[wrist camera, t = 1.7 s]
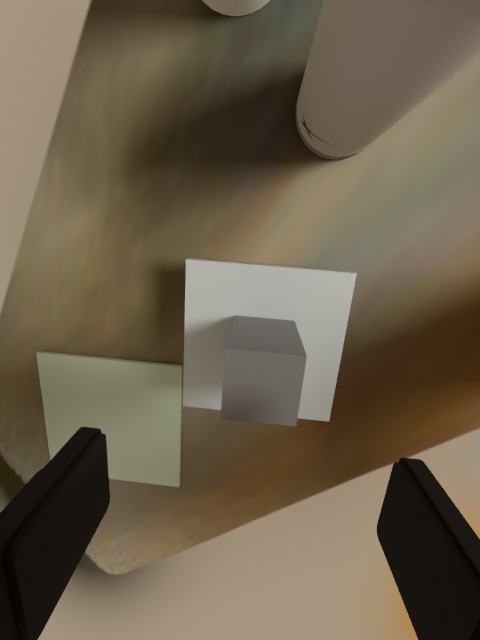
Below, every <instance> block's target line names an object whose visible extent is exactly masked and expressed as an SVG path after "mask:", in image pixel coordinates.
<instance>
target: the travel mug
mask: <svg viewBox="0 0 480 640" xmlns="http://www.w3.org/2000/svg"><path fill="white" fill-rule="evenodd" d="M479 56H480V0H324V1H323V5H322V9H321V13H320V16H319V20H318V24H317V28H316V32H315V35H314V39H313V43H312V47H311V50H310V54H309V58H308V62H307V65H306V69H305V73H304V77H303V81H302V84H301V88H300V92H299V96H298V99H297V104H296V112H295V114H296V125H297V129H298V132H299V135H300V137H301V139H302V141H303V142H304V144H305V145H306V146H307V147H308V148H309V149H310V150H311V151H312V152H313V153H315V154H317V155H318V156H320V157H323V158H326V159H334V160H338V159H345V158H348V157H351V156H353V155H355V154H357V153H359V152H360V151H362V150H363V149H364V148H366V147H367V146H368V145H369V144H371V143H372V142H373V141H374V140H375V139H377V138H378V137H379V136H380V135H382V134H383V133H384V132H385V131H387V130H388V129H389V128H390V127H392V126H393V125H394V124H395V123H397V122H398V121H399V120H400V119H402V118H403V117H404V116H405V115H407V114H408V113H409V112H410V111H412V110H413V109H414V108H415V107H417V106H418V105H419V104H420V103H422V102H423V101H424V100H425V99H427V98H428V97H429V96H430V95H431V94H433V93H434V92H435V91H436V90H438V89H439V88H440V87H441V86H443V85H444V84H445V83H446V82H448V81H449V80H450V79H451V78H453V77H454V76H455V75H456V74H458V73H459V72H460V71H461V70H463V69H464V68H465V67H466V66H468V65H469V64H470V63H471V62H473V61H474V60H475V59H476V58H478V57H479Z"/></svg>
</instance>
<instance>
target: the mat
mask: <svg viewBox="0 0 480 640" xmlns="http://www.w3.org/2000/svg"><path fill="white" fill-rule="evenodd" d="M36 355H37V363H38V370H39V378H40V386H41V393H42V401H43V409H44V416H45V424H46V432H47V439H48V447H49V454H50V460H51V459H52V458H53V457H54V456H55V455H56V454H57V453H58V452H59V450H60V449H61V448H62V447H63V446H64V445H65V444H66V443H67V441H68V440H69V439H70V438H71V437H72V436H73V435H74V434H75V432H76V431H77V430H78V429H79V428H80V427H90V428H99V429H101V432H102V433H103V434H105V435H106V443H107V459H108V475H109V479H115V480H123V481H131V482H140V483H148V484H156V485H165V486H173V487H179V486H180V470H181V423H182V376H183V365H175V364H165V363H155V362H145V361H135V360H125V359H115V358H105V357H95V356H85V355H75V354H65V353H55V352H45V351H38V352H36Z"/></svg>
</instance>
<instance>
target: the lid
mask: <svg viewBox="0 0 480 640" xmlns="http://www.w3.org/2000/svg"><path fill="white" fill-rule="evenodd" d="M356 274H357V273H355V272H352V271H340V270H328V269H316V268H304V267H292V266H280V265H268V264H256V263H243V262H231V261H219V260H207V259H195V258H187V259H186V281H185V326H184V371H183V406H187V407H197V408H206V409H215V410H221V418H222V419H231V420H240V421H250V422H259V423H268V424H277V425H286V426H296V425H297V419H298V418H300V419H309V420H318V421H328V422H329V420H330V414H331V409H332V404H333V398H334V393H335V387H336V382H337V377H338V371H339V366H340V361H341V355H342V350H343V344H344V339H345V334H346V328H347V323H348V318H349V312H350V307H351V301H352V296H353V291H354V285H355V280H356Z"/></svg>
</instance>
